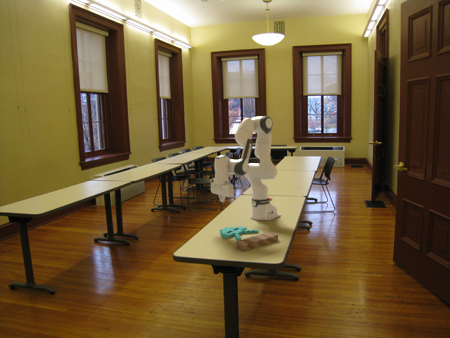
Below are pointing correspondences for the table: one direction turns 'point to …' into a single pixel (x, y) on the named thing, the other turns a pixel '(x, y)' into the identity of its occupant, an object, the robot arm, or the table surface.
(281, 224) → the table surface
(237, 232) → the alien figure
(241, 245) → the laid plank
